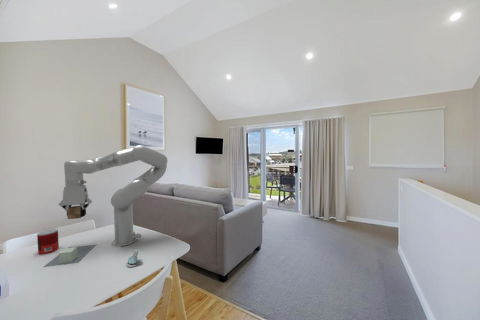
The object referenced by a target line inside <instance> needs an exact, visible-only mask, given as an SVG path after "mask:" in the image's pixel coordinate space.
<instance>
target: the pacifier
mask: <svg viewBox="0 0 480 320" xmlns="http://www.w3.org/2000/svg"><path fill="white" fill-rule="evenodd" d="M138 255H139V251H138V249H134V250H133V253H132V255H131V256H130V257H128V259H127V262H126V263H125V266H126V267H127V268H133V267H136V266H138V264H139V263H140V262H141V261H143V258H140V259H139V257H138Z"/></svg>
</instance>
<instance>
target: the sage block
mask: <svg viewBox="0 0 480 320" xmlns="http://www.w3.org/2000/svg"><path fill="white" fill-rule="evenodd" d="M72 247H73V248H68V247H66V248H63V249H62V250H61V251H60V252H58V255H59V264H61V263H69V262H72V261H73V260H74V259H76V258H77V247H76V246H72Z"/></svg>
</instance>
